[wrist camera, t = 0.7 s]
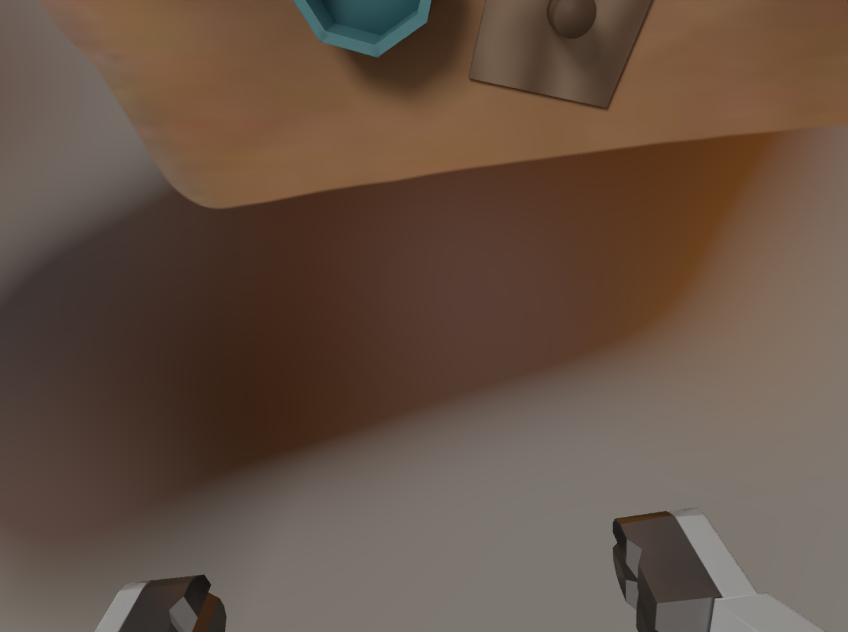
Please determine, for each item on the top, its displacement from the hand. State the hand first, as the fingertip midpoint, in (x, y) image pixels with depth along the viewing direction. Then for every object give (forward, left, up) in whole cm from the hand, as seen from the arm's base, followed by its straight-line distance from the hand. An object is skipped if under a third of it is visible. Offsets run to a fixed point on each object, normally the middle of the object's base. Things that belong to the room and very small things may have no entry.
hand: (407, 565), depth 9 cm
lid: (-11, +1, -43) cm, 44 cm away
